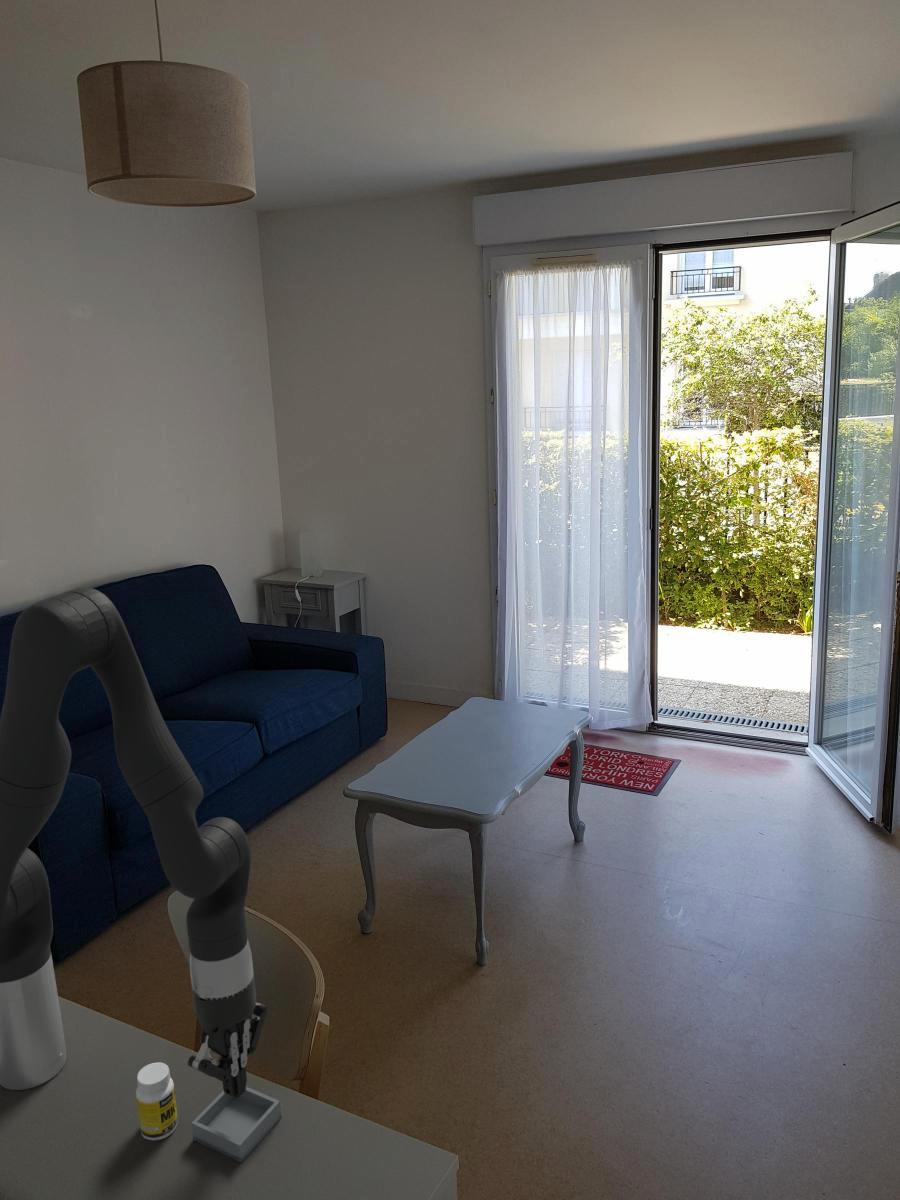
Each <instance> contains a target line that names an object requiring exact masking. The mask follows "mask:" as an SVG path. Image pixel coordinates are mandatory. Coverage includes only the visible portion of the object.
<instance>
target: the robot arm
mask: <svg viewBox="0 0 900 1200" xmlns="http://www.w3.org/2000/svg"><path fill="white" fill-rule="evenodd" d="M14 623H15V624H14V626H13V630H12V635H11V640H10V647H9V655H8V656H9V657H8V666H7V675H6V686H5V687H6V688H5V693H4V700H3V705H2V708H1V713H0V1086H1V1087H3V1088H5V1089H7V1090H12V1091H21V1090H22V1091H23V1090H29V1089H32V1088H36V1087H38V1086H41V1085H43V1084H45V1083H47V1082H48V1081H49V1080H52V1078H54V1077H55V1076H56V1075H58V1073H60V1072H61V1070H62V1069H63V1068H64V1067H65V1064H66V1062H67V1058H68V1057H67V1055H68V1054H67V1048H66V1042H65V1041H66V1040H65V1035H64V1028H63V1020H62V1014H61V1007H60V1001H59V996H58V987H57V981H56V974H55V970H54V962H53V958H52V957H53V956H52V951H51V943H52V939H53V935H54V924H53V923H54V922H53V913H52V912H53V911H52V900H51V889H50V883H49V878H48V877H49V876H48V874H47V871H46V869H45V867H44V864H43V863H42V861H41V860H40V858H39V857H38V855H37V854H36V853H35V852H34V851H32V850H31V849H30V848H29V846H30V844H31V843H32V842H33V840H34V839H35V838H36V837H37V836H38V834H39V833H40V832H41V830H42V829H43V827H44V826H45V825H46V823H47V822H48V820H49V819H50V817H51V816H52V814H53V813H54V811H55V810H56V808H57V806H58V804H59V802H60V799H61V797H62V794H63V791H64V788H65V784H66V781H67V778H68V775H69V771H70V767H71V763H72V762H71V761H72V747H71V745H70V741H69V738H68V736H67V734H66V731H65V729H64V728H63V726H62V724H61V721H60V718H59V715H60V709H61V705H62V702H63V701H62V700H63V697H64V694H65V690H66V689H67V686H68V685H69V682H70V680H71V678H72V677H73V676H74V675H75V674H76V673H78V672H80V671H82V670H85V669H86V668H88V667H89V668H91V669H92V670H93V672H94V673H95V675H96V676H97V678H98V679H99V681H100V682H101V684H102V686H103V688H104V691H105V693H106V697H107V699H108V701H109V707H110V711H111V712H110V713H111V718H112V724H113V725H112V726H113V727H112V728H113V738H114V746H115V748H114V749H115V753H116V754H115V756H116V758H117V759H116V760H117V763H118V767H119V770H120V771H121V773H122V777H123V778H124V780H125V781H126V783H127V785H128V787H129V789H130V790H131V792H132V793H133V795H134V797H135V799H136V801H138V803H139V805H140V807H141V808H142V810H143V811H144V813H145V815H146V816H147V818H148V821H149V824H150V830H151V832H152V833H151V834H152V837H153V840H154V843H155V847H156V850H157V853H158V858H159V860H160V864H161V867H162V869H163V872H164V874H165V877H166V878H167V880H168V881H169V882H168V883H170V884H171V886H172V887H173V888H174V889H176V891H177V892H178V893H180V894H181V895H183V896H185V897H187V898H189V899H194V900H193V901H192V902H191V904H190V905H189V907H188V910H187V912H186V917H185V918H186V930H187V940H188V949H189V973H190V981H191V982H190V983H191V989H192V997H193V999H192V1000H193V1004H194V1012H195V1017H196V1019H197V1021H198V1023H199V1024H200V1027H201V1030H200V1036H199V1042H200V1044H201V1045H200V1048H199V1050H198V1053H197V1055H191V1056H189V1058H188V1060H187V1066H188V1067H190V1068H192V1069H194V1070H195V1071H198V1072H201V1073H203V1074H204V1075H207V1076H208V1077H210V1078H214V1079H216V1080H218V1081H221V1082H222V1087H223V1088H222V1090H224V1093H225V1094H227V1095H229V1096H232V1097H234V1098H239V1097H240V1096H241V1095H242V1094H243V1093H244V1092H245V1091H246V1087H247V1086H246V1085H247V1082H248V1079H247V1070H246V1069H247V1068H246V1066H247V1065H248V1058H249V1055H253V1054H254V1053H255V1052H256V1050H257V1047H258V1043H259V1041H260V1040H259V1039H260V1036H261V1034H262V1030H263V1027H264V1022H265V1020H266V1017H267V1013H268V1005H265V1004H263V1003H260V1002H257V992H256V984H255V974H254V965H253V956H252V950H251V947H250V943H249V938H248V928H247V918H246V911H245V909H246V907H245V906H246V900H247V896H248V888H249V880H250V872H251V858H252V857H251V847H250V842H249V839H248V837H247V835H246V832H245V831H244V829H243V828H242V827H241V825H240V824H239V823H238V822H236V821H235V820H234V819H231V818H229V817H224V816H220V817H219V816H218V817H214V818H213V817H212V818H211V819H209V820H207V821H206V822H204V823H203V824H202V825H200V826H199V827H198V823H197V819H196V811H197V809H198V807H199V805H200V804H201V803H202V800H203V798H204V795H205V794H204V793H205V792H204V789H203V787H202V784H201V783H200V781H199V779H198V777H197V776H196V775H195V772H194V771H193V769H192V768H191V765H190V763H189V762H188V760H187V759H186V757H185V756H184V754H183V752H182V750H181V749H180V748H179V745H178V744H177V742H176V741H175V739H174V737H173V735H172V734H171V731H170V730H169V728H168V726H167V724H166V722H165V720H164V717H163V715H162V714H161V711H160V708H159V706H158V704H157V702H156V699H155V697H154V694H153V691H152V690H151V687H150V685H149V682H148V678H147V677H146V674H145V671H144V669H143V667H142V664H141V661H140V659H139V657H138V655H137V654H138V653H137V652H136V649H135V647H134V645H133V642H132V639H131V636H130V634H129V631H128V630H127V627H126V625H125V622H124V620H123V619H122V616H121V614H120V612H119V611H118V609H117V608H116V605H114V603H113V602H112V600H110V598H109V597H108V596H107V595H105V593H102V592H101V591H100V590H97V589H95V588H91V587H79V588H74V589H71V590H68V591H65V592H62V593H59V594H56V595H53V596H50V597H47V598H45V599H41V600H39V601H37V602H35V603H32V604H31V605H29V606H28V607H26V608H25V609H24V610H22V612H21V613H20V614H19V615H18V617H17V619H16V621H15V622H14ZM250 1033H251V1037H250ZM211 1053H212V1054H211ZM213 1058H214V1059H213ZM215 1062H216V1064H215Z"/></svg>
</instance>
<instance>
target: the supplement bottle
mask: <svg viewBox="0 0 900 1200" xmlns="http://www.w3.org/2000/svg"><path fill="white" fill-rule="evenodd" d="M136 1079H137V1080H136V1081H137V1088H136V1091H135V1098H136V1105H137V1106H136V1107H137V1112H138V1113H137V1114H138V1121H139V1130H140V1133H141V1136H142V1138H144V1139H145V1140H149V1141H160V1140H163V1139H166V1138H167V1137H168V1136H170V1135H171V1134H173V1133H174V1131H175V1130H176V1128H177V1126H178V1122H179V1120H178V1111H177V1101H176V1091H175V1084H174V1080H173V1078H172V1077H171V1072H170V1068H169V1066H168V1065H167V1064H166V1063H164V1062H153V1063H149V1064H147V1065H144V1066H143V1067H142V1068H140V1070H139V1071H138V1073H137V1076H136Z"/></svg>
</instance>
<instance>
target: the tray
mask: <svg viewBox="0 0 900 1200" xmlns="http://www.w3.org/2000/svg"><path fill="white" fill-rule="evenodd" d="M281 1119H282V1108H281V1101H280V1100H278V1099H277V1098H274V1097H271V1096H269V1095H267V1094H265V1093H262V1092H261V1091H257V1090H255V1089H253V1088H250V1087H248V1086H246V1091H245V1092H244V1093H243V1094H242V1095H241V1096H240V1097H239V1098H234V1097H232V1096H229V1095H227V1094H225V1093H224V1089H222V1092H220V1093H219V1094H218V1095H217V1096H216V1097H215V1098H214V1099H213V1100H212V1101H211V1102H210V1103H209V1104H208V1106H207V1107H205V1108H204V1109H203V1111H202V1112H200V1113H199V1114H198V1115H197V1116H196V1117H195V1119H194V1120H193V1121H191V1123H190V1124H191V1131H192V1133H191V1134H192V1140H193V1141H195V1142H198V1143H199V1144H202V1145H204V1146H205V1147H208V1148H210V1149H212V1150H214V1151H216V1152H218V1153H220V1154H223V1155H225V1156H227V1157H228V1158H231V1159H233V1160H235V1161H237V1162H239V1163H243V1162H244V1161H245V1160H246V1158H248V1156H250V1154H251V1153H252V1152H253V1151H254V1149H256V1147H257V1146H258V1145H259V1144H260V1143H261V1141H262V1140H263V1139H264V1138H265V1137H266V1136H267V1135H268V1134H269V1132H271V1130H272V1129H273V1128H274V1127H275V1125H277V1123H278V1122H279V1121H280V1120H281Z"/></svg>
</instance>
